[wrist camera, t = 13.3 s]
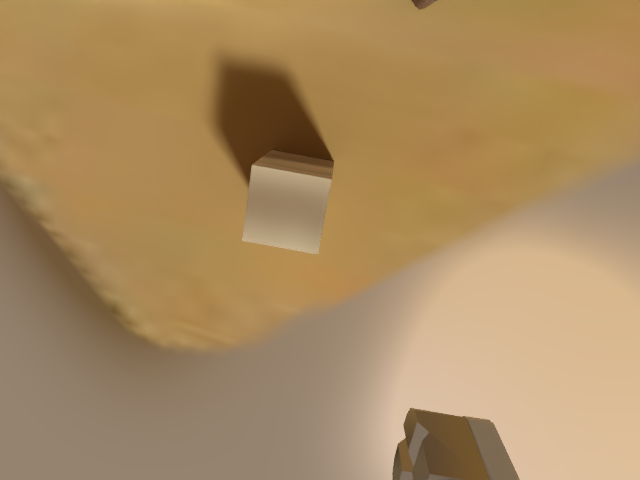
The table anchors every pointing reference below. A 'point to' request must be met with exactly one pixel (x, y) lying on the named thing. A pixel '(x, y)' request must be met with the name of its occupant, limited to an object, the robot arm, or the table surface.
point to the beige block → (287, 201)
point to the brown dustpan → (423, 3)
